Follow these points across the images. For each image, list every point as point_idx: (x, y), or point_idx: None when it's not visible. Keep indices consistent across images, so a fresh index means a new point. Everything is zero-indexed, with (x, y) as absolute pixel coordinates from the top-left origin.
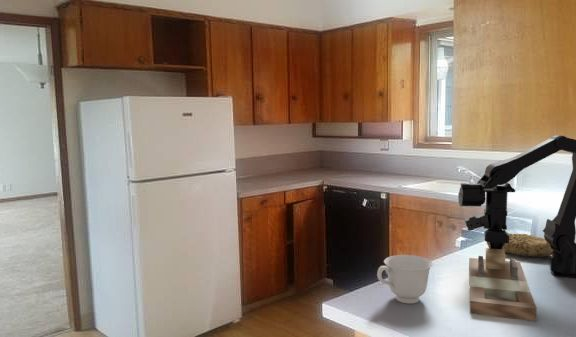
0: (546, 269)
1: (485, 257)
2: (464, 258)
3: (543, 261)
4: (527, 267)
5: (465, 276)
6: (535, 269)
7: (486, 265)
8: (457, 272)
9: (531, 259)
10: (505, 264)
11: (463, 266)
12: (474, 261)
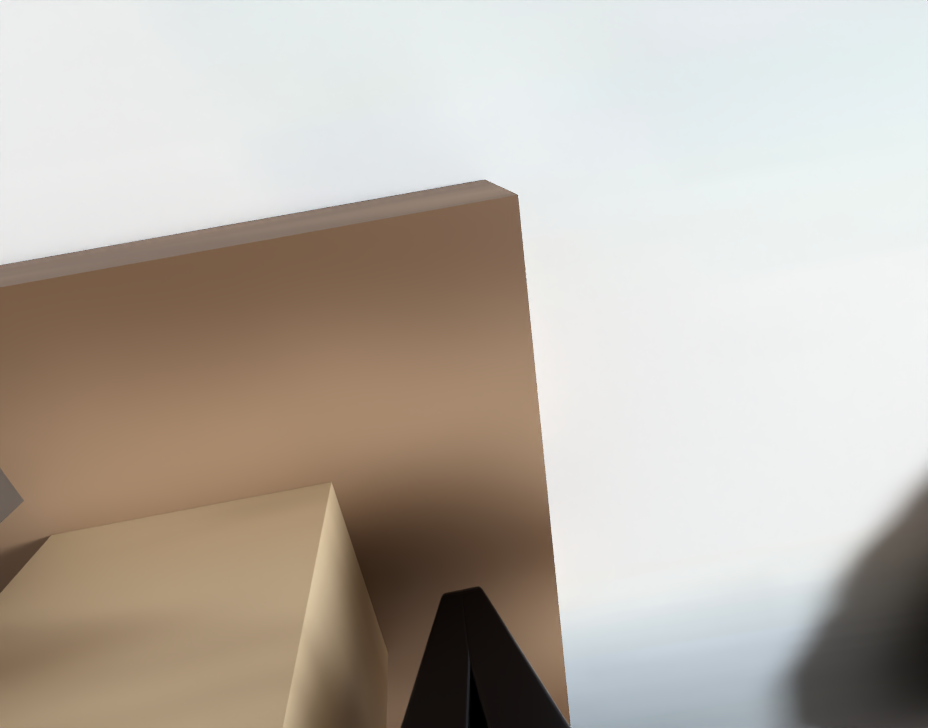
0: (670, 723)
1: (300, 560)
2: (915, 31)
3: (857, 683)
4: (685, 641)
5: (19, 202)
6: (649, 683)
7: (19, 583)
8: (122, 36)
9: (902, 627)
10: (408, 661)
11: (498, 86)
12: (323, 325)
